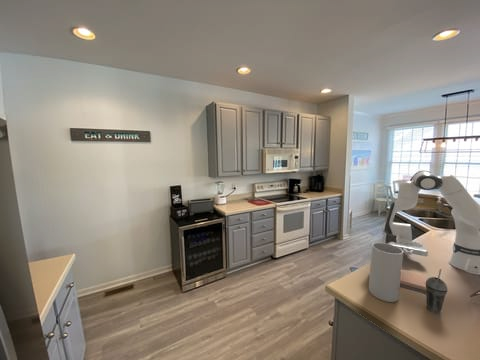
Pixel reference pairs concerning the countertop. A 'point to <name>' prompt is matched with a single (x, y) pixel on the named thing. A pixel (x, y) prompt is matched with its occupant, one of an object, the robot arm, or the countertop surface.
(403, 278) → the tile
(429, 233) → the countertop surface
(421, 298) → the countertop surface
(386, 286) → the cylinder vase
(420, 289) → the mat
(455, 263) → the robot arm
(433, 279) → the beverage cup
